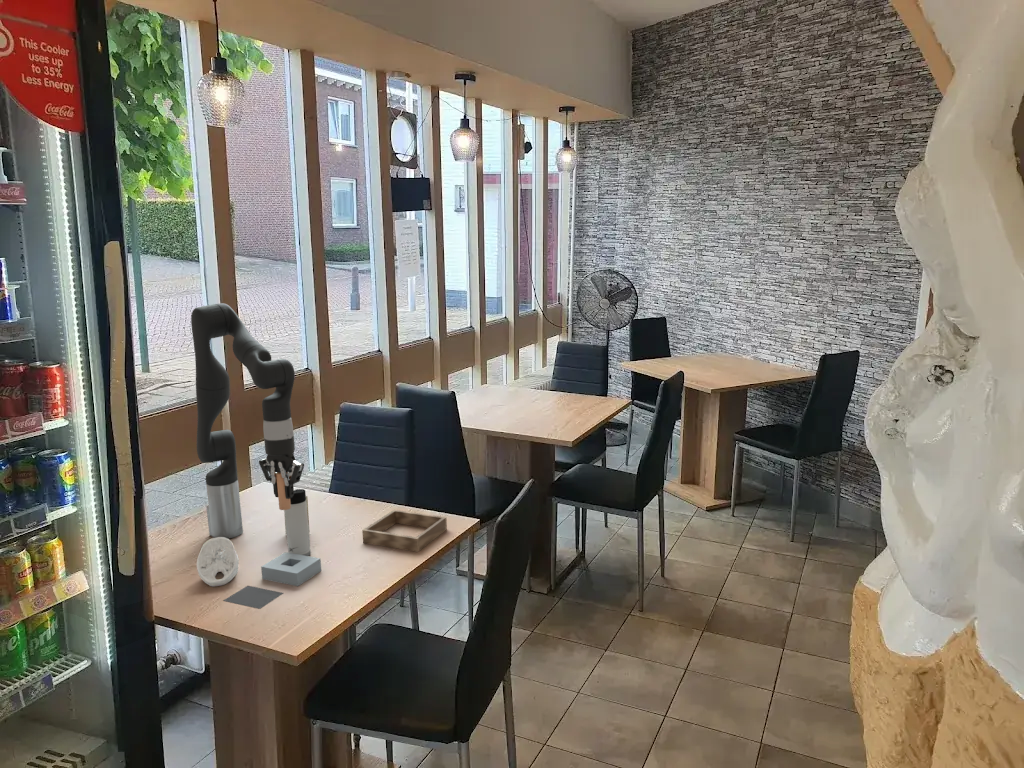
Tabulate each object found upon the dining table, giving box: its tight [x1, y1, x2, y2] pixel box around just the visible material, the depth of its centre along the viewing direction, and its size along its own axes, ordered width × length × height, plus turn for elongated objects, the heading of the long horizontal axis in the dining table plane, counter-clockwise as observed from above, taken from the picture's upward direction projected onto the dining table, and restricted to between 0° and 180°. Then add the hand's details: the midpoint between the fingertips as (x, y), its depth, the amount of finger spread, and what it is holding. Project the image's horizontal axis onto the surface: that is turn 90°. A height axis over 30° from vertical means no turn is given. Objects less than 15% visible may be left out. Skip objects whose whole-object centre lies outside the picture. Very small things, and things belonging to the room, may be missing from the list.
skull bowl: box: [196, 537, 240, 587], centre depth 210 cm, size 10×14×12 cm
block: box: [260, 551, 322, 587], centre depth 210 cm, size 12×10×4 cm
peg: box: [276, 472, 291, 511], centre depth 205 cm, size 3×3×10 cm
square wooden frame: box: [361, 509, 448, 553], centre depth 235 cm, size 19×18×4 cm
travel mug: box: [283, 488, 312, 556], centre depth 222 cm, size 6×7×20 cm
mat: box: [222, 585, 284, 610], centre depth 198 cm, size 12×9×1 cm
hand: (284, 496), depth 205 cm, fingers closed on peg, 3 cm apart
